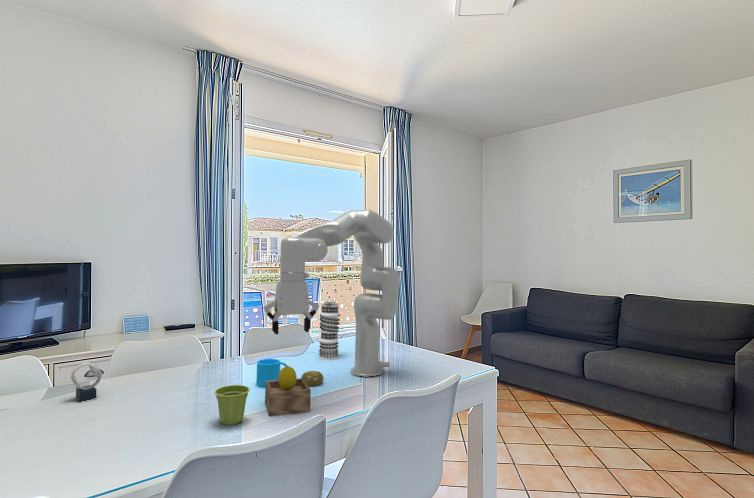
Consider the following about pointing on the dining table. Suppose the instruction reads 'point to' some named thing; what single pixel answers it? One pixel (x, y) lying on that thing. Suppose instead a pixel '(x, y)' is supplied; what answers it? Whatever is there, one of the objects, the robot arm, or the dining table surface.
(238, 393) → the plant pot
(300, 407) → the walnut box
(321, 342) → the decorative candle
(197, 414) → the dining table surface
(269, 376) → the mug
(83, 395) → the watch
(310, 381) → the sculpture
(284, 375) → the lemon
